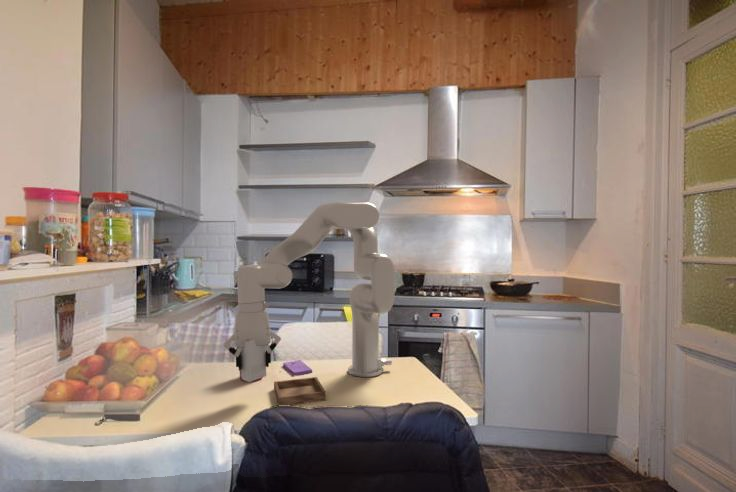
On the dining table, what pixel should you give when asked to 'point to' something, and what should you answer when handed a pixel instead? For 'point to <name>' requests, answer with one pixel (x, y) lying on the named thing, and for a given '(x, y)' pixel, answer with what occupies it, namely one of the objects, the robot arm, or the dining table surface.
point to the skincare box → (253, 361)
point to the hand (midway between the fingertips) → (253, 366)
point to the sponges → (297, 367)
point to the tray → (299, 391)
